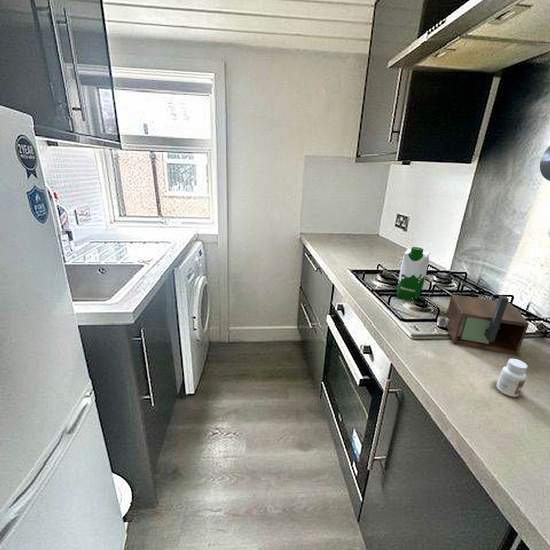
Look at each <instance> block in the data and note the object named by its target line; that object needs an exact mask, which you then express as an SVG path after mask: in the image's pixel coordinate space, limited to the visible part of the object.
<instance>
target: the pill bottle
mask: <svg viewBox="0 0 550 550" xmlns="http://www.w3.org/2000/svg"><path fill="white" fill-rule="evenodd" d="M527 369H528V364H527V363H525V362H524V361H523V360H520V359H517V358H509V359H508V361H507V362H506V365H505V366H503V367H502V369H501V371H500V375H499V377H498V380H497V383H496V388H497V390H498V391H499V392H500V393H502V394H504V395H506V396H509V397H519V396H520V394H521V391H522V389H523V387H524V384H525V382H526V379H527V374H526V373H527Z"/></svg>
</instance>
